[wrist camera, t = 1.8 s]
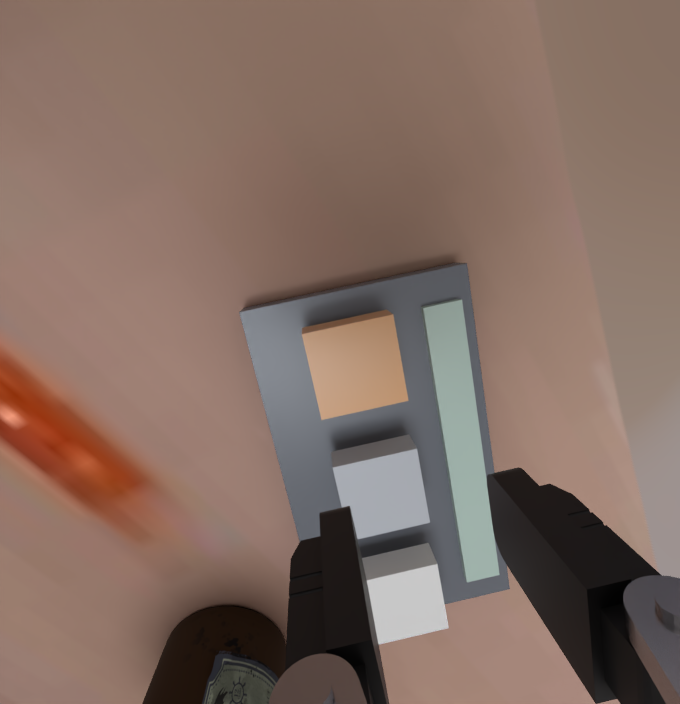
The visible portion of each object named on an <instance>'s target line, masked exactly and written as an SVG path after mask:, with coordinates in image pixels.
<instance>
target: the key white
mask: <svg viewBox="0 0 680 704" xmlns="http://www.w3.org/2000/svg"><path fill="white" fill-rule="evenodd" d="M362 561H363V566H364V570H365V575H366V580H367V585H368V590H369V596H370V601H371V607H372V612H373V618H374V623H375V629H376V634H377V639H378V645H379V644H383V643H387V642H392V641H396V640H400V639H404V638H409V637H413V636H417V635H421V634H425V633H430V632H434V631H438V630H442V629H447V628H449V627H448V621H447V615H446V610H445V604H444V598H443V593H442V587H441V582H440V576H439V570H438V565H437V562H436V559H435V557H434V555H433V552H432V550H431V547H430V545H429V543H425V544H421V545H417V546H412V547H408V548H404V549H399V550H395V551H391V552H387V553H382V554H378V555H374V556H369V557H365V558H362Z"/></svg>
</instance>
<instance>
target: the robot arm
mask: <svg viewBox="0 0 680 704" xmlns="http://www.w3.org/2000/svg"><path fill="white" fill-rule="evenodd" d="M487 489H488V496H489V503H490V511H491V518H492V525H493V532H494V537H495V540H496V543H497V546H498V549H499V551H500V554H501V556H502V558H503V559H504V561H505V563H506V564H507V566H508V567H509V569H510V570H511V572H512V574H513V575H514V577H515V578H516V580H517V581H518V583H519V585H520V586H521V588H522V589H523V591H524V592H525V594H526V595H527V597H528V599H529V600H530V602H531V603H532V605H533V606H534V608H535V610H536V611H537V613H538V614H539V616H540V617H541V619H542V620H543V622H544V624H545V625H546V627H547V628H548V630H549V631H550V633H551V635H552V636H553V638H554V639H555V641H556V642H557V644H558V645H559V647H560V649H561V650H562V652H563V653H564V655H565V656H566V658H567V660H568V661H569V663H570V664H571V666H572V667H573V669H574V670H575V672H576V674H577V675H578V677H579V678H580V680H581V681H582V683H583V685H584V686H585V688H586V689H587V691H588V692H589V694H590V695H591V697H592V699H593V700H594V702H595V703H596V704H597V703H601V702H605V701H609V700H614V699H618V700H619V702H620V703H621V704H680V578H675V577H670V576H662V575H660V574H659V573H658V572H657V571H656V570H655V569H654V568H653V567H652V566H651V565H649V564H648V563H647V562H646V561H645V560H644V559H643V558H642V557H641V556H640V555H639V554H637V553H636V552H635V551H634V550H633V549H632V548H631V547H630V546H629V545H628V544H626V543H625V542H624V541H623V540H622V539H621V538H620V537H619V536H618V535H617V534H615V533H614V532H613V531H612V530H611V529H610V528H609V527H608V526H607V525H606V526H604V524H603V522H602V521H601V520H600V519H599V518H598V517H597V516H596V515H595V514H593V513H592V512H591V513H590V511H589V509H588V508H587V507H586V506H585V505H584V504H583V503H581V502H580V501H579V500H578V499H577V498H576V497H575V496H574V495H573V494H571V493H569V492H566V491H564V490H562V489H560V488H558V487H556V486H553V485H551V484H547V485H543V486H539V485H538V484H537V483H536V482H535V481H534V480H533V479H532V478H531V477H530V476H529V475H528V474H527V473H526V472H525V471H524V470H523V469H521V468H514V469H510V470H506V471H501V472H497V473H492V474H488V476H487ZM319 518H320V536H319V537H314V538H310V539H306V540H301V541H300V543H299V545H298V547H297V549H296V550H295V552H294V554H293V556H292V558H291V566H290V586H289V597H290V599H289V605H288V624H287V643H286V662H285V672H284V674H283V675H282V676H281V677H280V678H279V680H278V682H277V683H276V685H275V687H274V689H273V691H272V693H271V696H270V700H269V704H389V700H388V694H387V689H386V683H385V678H384V672H383V667H382V661H381V656H380V650H379V645H378V639H377V634H376V629H375V623H374V618H373V612H372V607H371V601H370V596H369V590H368V585H367V580H366V575H365V570H364V566H363V561H362V557H361V552H360V548H359V543H358V539H357V534H356V530H355V526H354V521H353V517H352V512H351V508H350V506H346V507H342V508H337V509H333V510H329V511H324V512H320V513H319Z"/></svg>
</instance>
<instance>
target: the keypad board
mask: <svg viewBox="0 0 680 704" xmlns="http://www.w3.org/2000/svg"><path fill="white" fill-rule="evenodd" d="M382 310H388V311H389V312H391V313H392V314H393V316H394V321H395V327H396V333H397V338H398V344H399V350H400V355H401V361H402V367H403V372H404V378H405V384H406V389H407V395H408V401H405V402H401V403H396V404H392V405H387V406H383V407H378V408H374V409H369V410H365V411H360V412H356V413H351V414H347V415H342V416H338V417H333V418H329V419H324V420H321V415H320V411H319V407H318V403H317V398H316V394H315V390H314V385H313V381H312V377H311V372H310V368H309V364H308V359H307V355H306V351H305V346H304V342H303V338H302V328H304V327H308V326H313V325H317V324H322V323H327V322H331V321H336V320H341V319H345V318H350V317H354V316H359V315H364V314H368V313H373V312H378V311H382ZM239 313H240V317H241V321H242V325H243V328H244V332H245V336H246V340H247V343H248V347H249V351H250V355H251V359H252V362H253V366H254V370H255V374H256V378H257V381H258V385H259V389H260V393H261V396H262V400H263V404H264V408H265V412H266V415H267V419H268V423H269V427H270V431H271V434H272V438H273V442H274V446H275V450H276V453H277V457H278V461H279V465H280V468H281V472H282V476H283V480H284V484H285V487H286V491H287V495H288V499H289V503H290V506H291V510H292V514H293V518H294V521H295V525H296V529H297V533H298V537H299V540H300V541H301V540H306V539H310V538H314V537H319V536H320V518H319V513H320V512H324V511H329V510H333V509H337V508H342V506H341V502H340V498H339V493H338V489H337V485H336V480H335V476H334V472H333V467H332V459H331V452H333V451H337V450H342V449H346V448H351V447H355V446H360V445H364V444H369V443H373V442H377V441H382V440H386V439H391V438H395V437H400V436H404V435H410V437H411V439H412V441H413V442H414V444H415V446H416V448H417V451H418V457H419V463H420V468H421V474H422V480H423V485H424V491H425V497H426V502H427V508H428V514H429V519H430V523H427V524H422V525H418V526H413V527H409V528H405V529H400V530H396V531H392V532H387V533H383V534H379V535H374V536H370V537H366V538H361V539H358V543H359V548H360V552H361V557H362V558H365V557H369V556H374V555H378V554H382V553H387V552H391V551H395V550H399V549H404V548H408V547H412V546H417V545H421V544H425V543H429V545H430V547H431V550H432V552H433V555H434V557H435V559H436V562H437V565H438V570H439V576H440V582H441V587H442V593H443V598H444V604H448V603H452V602H456V601H461V600H465V599H469V598H473V597H477V596H482V595H486V594H490V593H494V592H499V591H503V590H507V589H510V588H509V581H508V573H507V565H506V563H505V561H504V559H503V558H502V556H501V554H500V551H499V549H498V546H497V543H496V540H495V537H494V532H493V525H492V518H491V511H490V503H489V496H488V489H487V476H488V474H492V473H494V466H493V459H492V451H491V443H490V436H489V428H488V420H487V413H486V405H485V398H484V390H483V382H482V375H481V367H480V359H479V352H478V344H477V337H476V329H475V321H474V314H473V306H472V298H471V291H470V283H469V276H468V268H467V263H452V264H447V265H443V266H438V267H433V268H429V269H424V270H419V271H414V272H410V273H405V274H400V275H396V276H391V277H386V278H382V279H377V280H372V281H368V282H363V283H358V284H354V285H349V286H344V287H340V288H335V289H330V290H326V291H321V292H316V293H312V294H307V295H302V296H298V297H293V298H288V299H284V300H279V301H274V302H270V303H265V304H260V305H256V306H251V307H246V308H243V309H242V310H241V311H240V312H239Z"/></svg>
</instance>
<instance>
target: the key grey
mask: <svg viewBox="0 0 680 704" xmlns="http://www.w3.org/2000/svg"><path fill="white" fill-rule="evenodd" d="M331 459H332V467H333V472H334V476H335V480H336V485H337V489H338V493H339V498H340V502H341V506H342V507H346V506H350V508H351V512H352V517H353V521H354V526H355V530H356V534H357V539H361V538H366V537H370V536H374V535H379V534H383V533H387V532H392V531H396V530H400V529H405V528H409V527H413V526H418V525H422V524H427V523H430V519H429V514H428V508H427V502H426V497H425V491H424V485H423V480H422V474H421V468H420V463H419V457H418V451H417V448H416V446H415V444H414V442H413V441H412V439H411V437H410V435H404V436H400V437H395V438H391V439H386V440H382V441H377V442H373V443H369V444H364V445H360V446H355V447H351V448H346V449H342V450H337V451H333V452H331Z"/></svg>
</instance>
